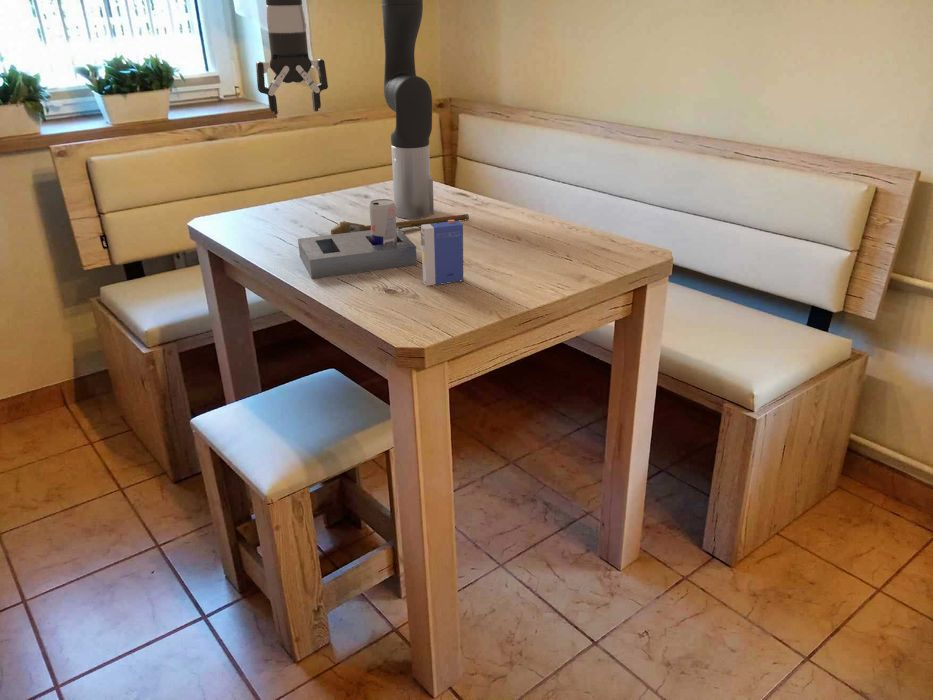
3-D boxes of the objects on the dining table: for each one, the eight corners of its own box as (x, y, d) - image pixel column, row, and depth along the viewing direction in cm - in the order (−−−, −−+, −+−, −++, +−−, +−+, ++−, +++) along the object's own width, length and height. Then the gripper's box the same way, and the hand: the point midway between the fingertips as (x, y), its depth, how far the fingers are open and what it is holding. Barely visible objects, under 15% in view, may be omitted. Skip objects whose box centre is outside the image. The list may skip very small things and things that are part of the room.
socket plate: (398, 244, 168) (397, 226, 167) (416, 264, 157) (416, 246, 155) (299, 256, 161) (297, 238, 160) (311, 278, 150) (309, 260, 148)
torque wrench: (462, 222, 188) (471, 229, 184) (328, 238, 172) (335, 246, 168) (463, 204, 185) (472, 211, 182) (328, 219, 169) (335, 226, 166)
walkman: (458, 276, 151) (458, 218, 145) (463, 281, 148) (463, 222, 143) (421, 281, 148) (419, 223, 143) (425, 286, 146) (423, 227, 140)
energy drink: (373, 252, 163) (369, 198, 158) (397, 252, 164) (395, 198, 158) (372, 261, 158) (368, 206, 153) (397, 260, 159) (394, 205, 153)
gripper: (318, 27, 157) (325, 107, 164) (248, 29, 153) (259, 111, 160) (325, 29, 151) (332, 113, 158) (253, 32, 146) (263, 117, 154)
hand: (295, 112), depth 159 cm, fingers open, 8 cm apart
